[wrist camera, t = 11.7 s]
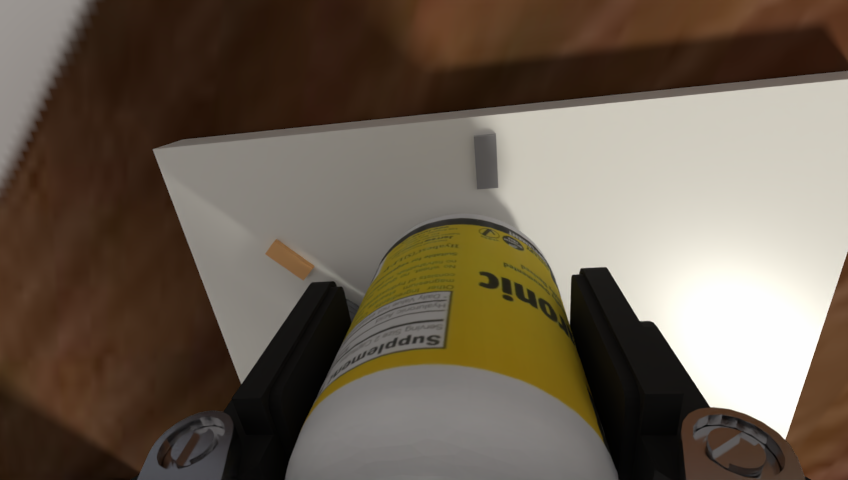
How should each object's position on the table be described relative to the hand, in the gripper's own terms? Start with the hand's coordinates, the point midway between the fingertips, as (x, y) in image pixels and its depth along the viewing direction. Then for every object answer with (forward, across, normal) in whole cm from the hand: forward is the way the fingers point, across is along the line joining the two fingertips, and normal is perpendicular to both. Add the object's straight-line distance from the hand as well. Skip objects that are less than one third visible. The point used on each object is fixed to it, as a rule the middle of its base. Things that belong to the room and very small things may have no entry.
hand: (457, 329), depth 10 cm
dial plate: (+5, -1, +4) cm, 6 cm away
